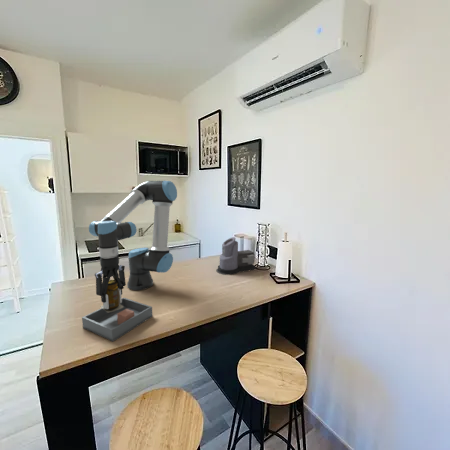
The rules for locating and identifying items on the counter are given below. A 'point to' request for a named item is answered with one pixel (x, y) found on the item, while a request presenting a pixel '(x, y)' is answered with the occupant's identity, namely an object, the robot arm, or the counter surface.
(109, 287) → the condiment
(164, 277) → the counter surface
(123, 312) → the cube
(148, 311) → the tote
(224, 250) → the juicer
